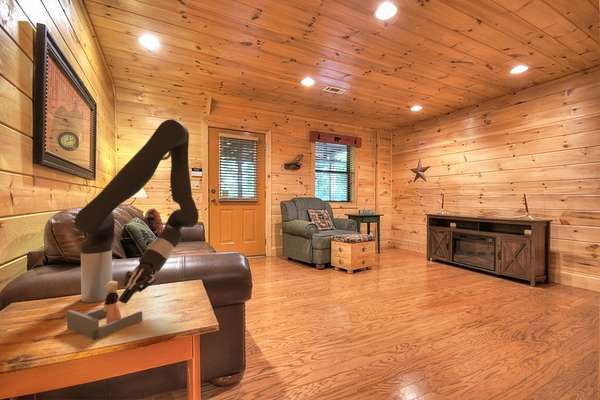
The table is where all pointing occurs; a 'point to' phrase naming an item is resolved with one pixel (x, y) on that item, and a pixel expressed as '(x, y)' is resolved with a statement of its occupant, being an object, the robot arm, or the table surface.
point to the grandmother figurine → (112, 302)
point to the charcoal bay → (97, 323)
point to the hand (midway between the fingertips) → (121, 302)
